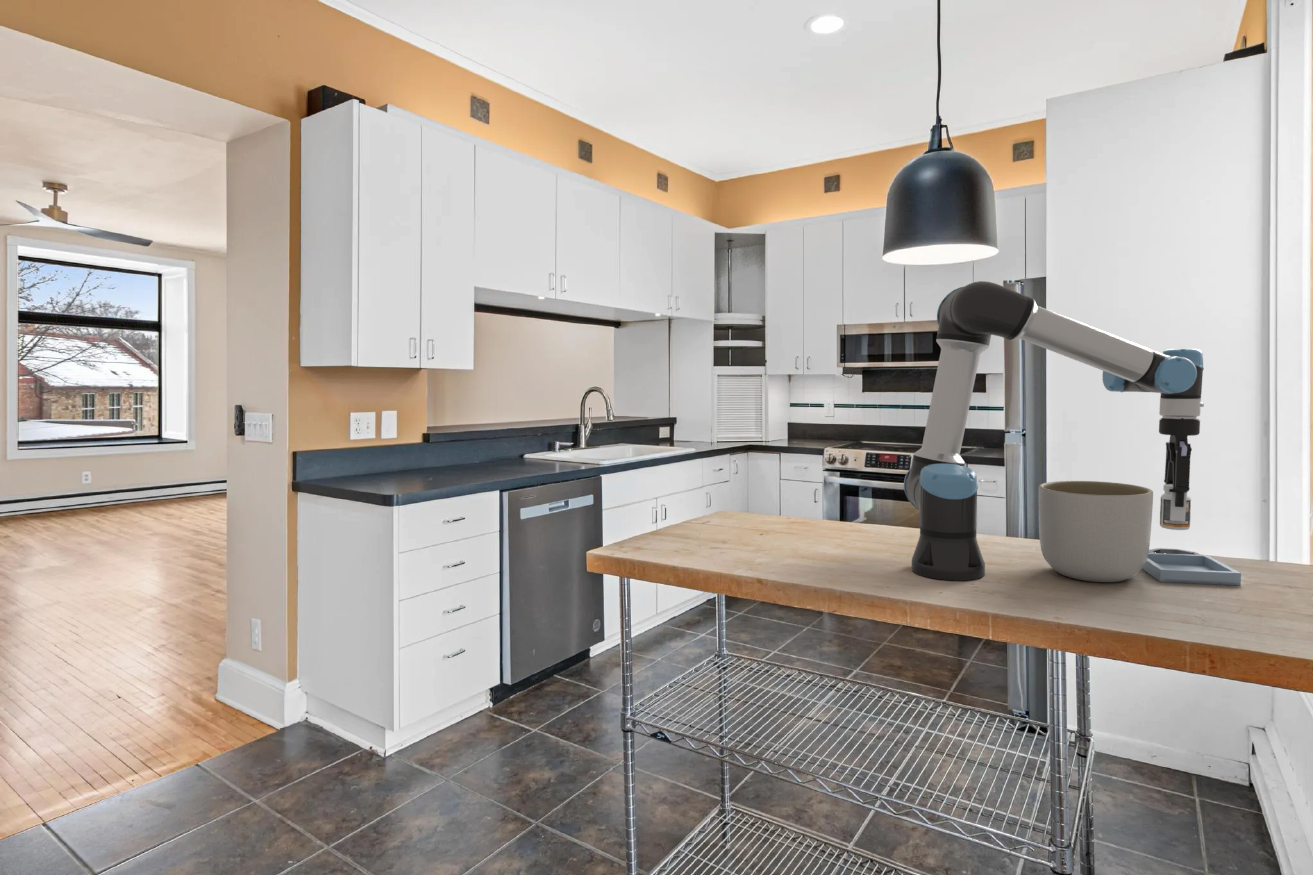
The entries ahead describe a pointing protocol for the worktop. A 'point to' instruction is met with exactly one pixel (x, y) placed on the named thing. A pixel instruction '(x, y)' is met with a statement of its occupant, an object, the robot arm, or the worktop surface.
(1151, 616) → the worktop surface
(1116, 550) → the planter
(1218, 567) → the tray
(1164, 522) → the pill bottle
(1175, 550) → the ring
